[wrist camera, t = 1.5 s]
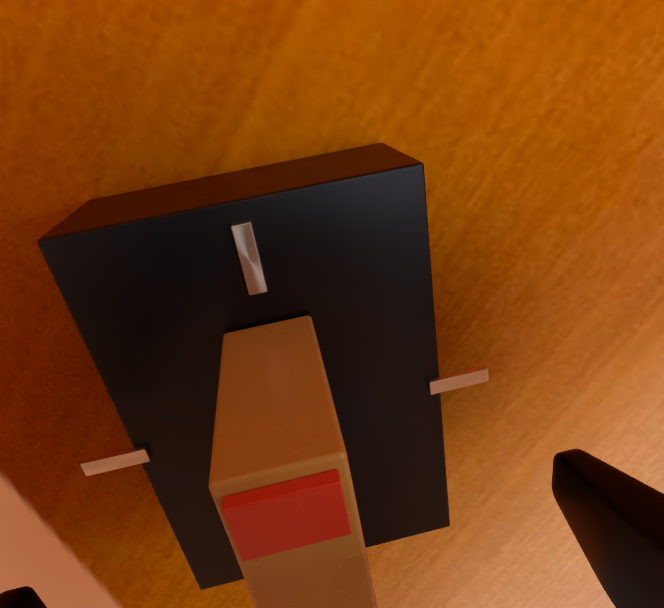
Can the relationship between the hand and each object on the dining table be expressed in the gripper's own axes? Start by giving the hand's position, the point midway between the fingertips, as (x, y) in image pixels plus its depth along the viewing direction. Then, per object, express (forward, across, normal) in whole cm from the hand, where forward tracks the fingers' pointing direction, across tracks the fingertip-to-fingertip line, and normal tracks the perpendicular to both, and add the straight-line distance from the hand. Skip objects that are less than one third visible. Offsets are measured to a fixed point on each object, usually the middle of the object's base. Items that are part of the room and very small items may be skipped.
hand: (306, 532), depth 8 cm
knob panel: (+6, 0, 0) cm, 6 cm away
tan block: (+3, 0, 0) cm, 3 cm away
